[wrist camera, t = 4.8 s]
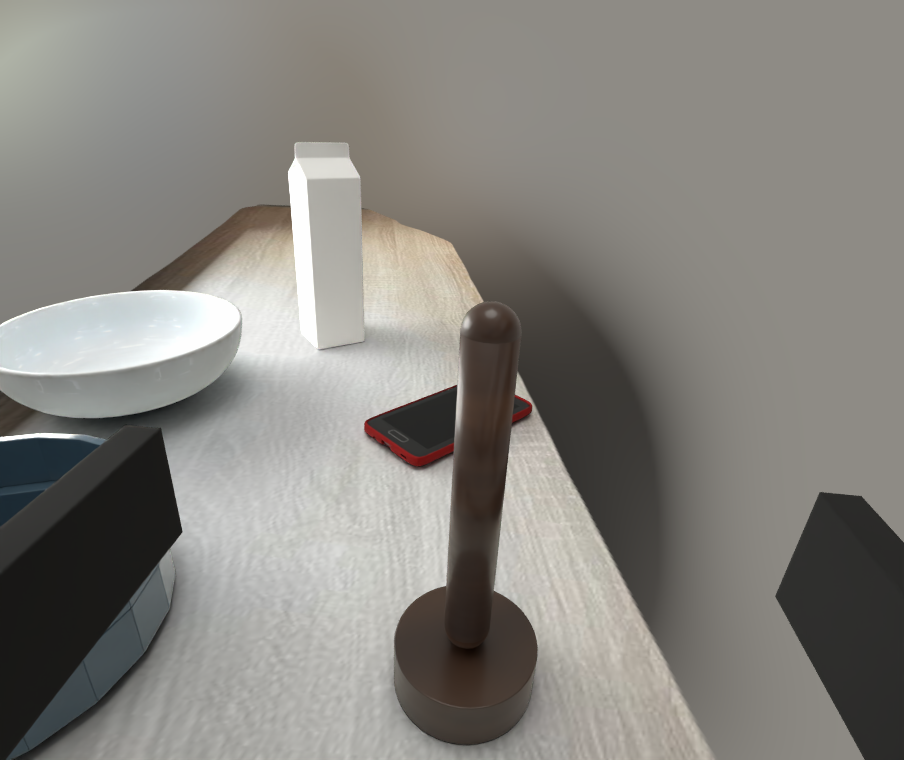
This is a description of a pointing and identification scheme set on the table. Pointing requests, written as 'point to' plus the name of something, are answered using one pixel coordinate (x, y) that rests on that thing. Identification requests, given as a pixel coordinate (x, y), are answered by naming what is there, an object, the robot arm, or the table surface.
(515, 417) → the cell phone
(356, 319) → the milk
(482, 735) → the paper towel holder
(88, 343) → the serving bowl
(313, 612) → the table surface
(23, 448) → the mixing bowl
